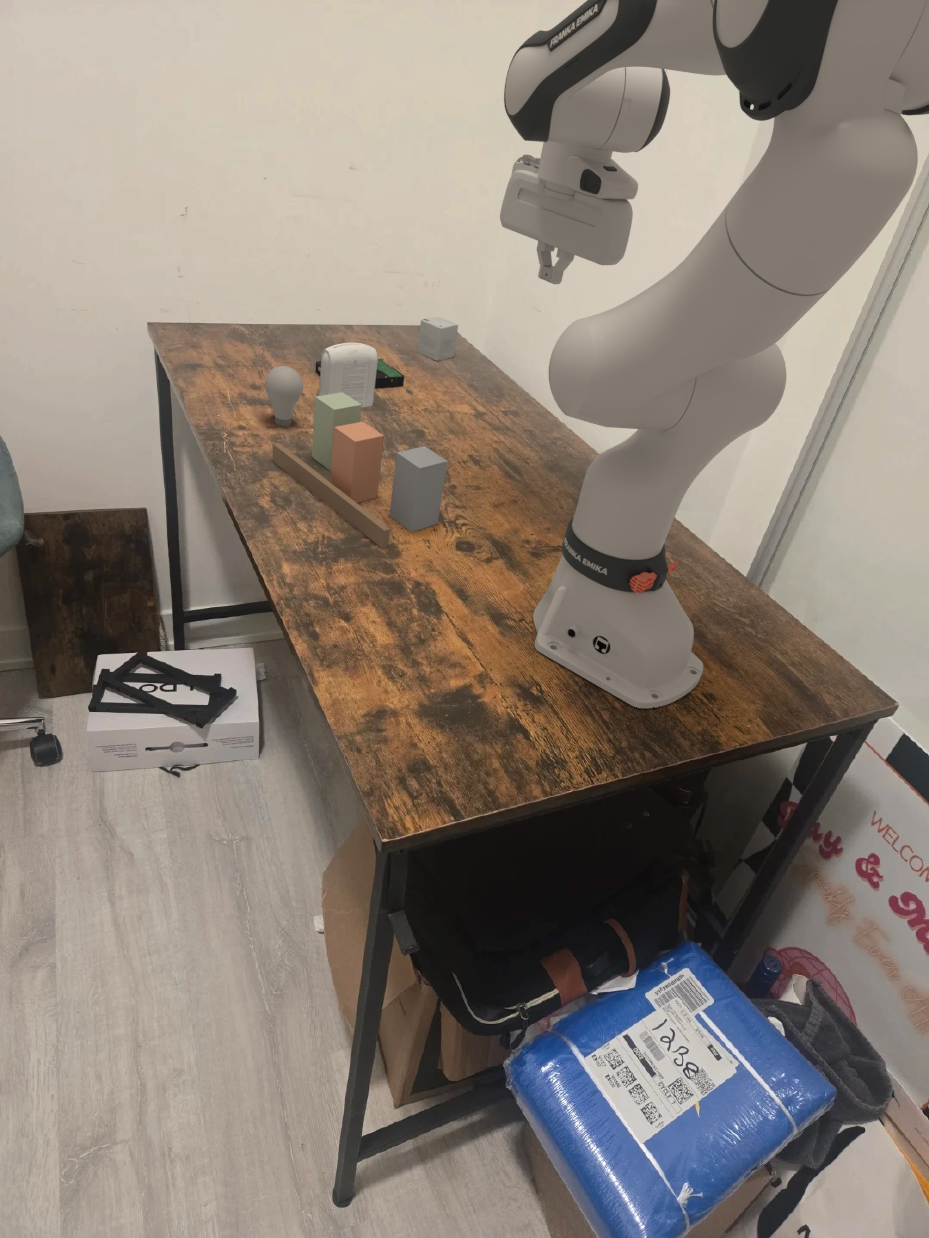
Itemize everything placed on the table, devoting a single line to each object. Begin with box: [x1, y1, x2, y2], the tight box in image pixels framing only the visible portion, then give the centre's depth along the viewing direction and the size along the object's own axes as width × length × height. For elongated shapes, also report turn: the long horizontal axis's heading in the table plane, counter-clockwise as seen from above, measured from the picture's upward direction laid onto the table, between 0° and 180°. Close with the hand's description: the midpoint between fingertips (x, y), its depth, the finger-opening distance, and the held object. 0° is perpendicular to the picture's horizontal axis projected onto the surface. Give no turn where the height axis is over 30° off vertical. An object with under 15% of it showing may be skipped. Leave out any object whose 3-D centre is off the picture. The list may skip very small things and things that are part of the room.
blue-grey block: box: [388, 445, 449, 533], centre depth 111 cm, size 5×5×10 cm
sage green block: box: [311, 392, 363, 472], centre depth 122 cm, size 5×5×10 cm
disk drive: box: [315, 357, 405, 390], centre depth 157 cm, size 10×3×15 cm
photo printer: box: [318, 342, 379, 408], centre depth 141 cm, size 10×4×12 cm, turn 123°
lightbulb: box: [264, 365, 304, 428], centre depth 130 cm, size 6×6×11 cm
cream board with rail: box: [271, 442, 391, 549], centre depth 119 cm, size 28×19×4 cm
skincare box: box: [417, 316, 459, 362], centre depth 174 cm, size 6×6×7 cm
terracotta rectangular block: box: [330, 421, 385, 504], centre depth 115 cm, size 5×5×10 cm
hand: (549, 281), depth 109 cm, fingers closed
